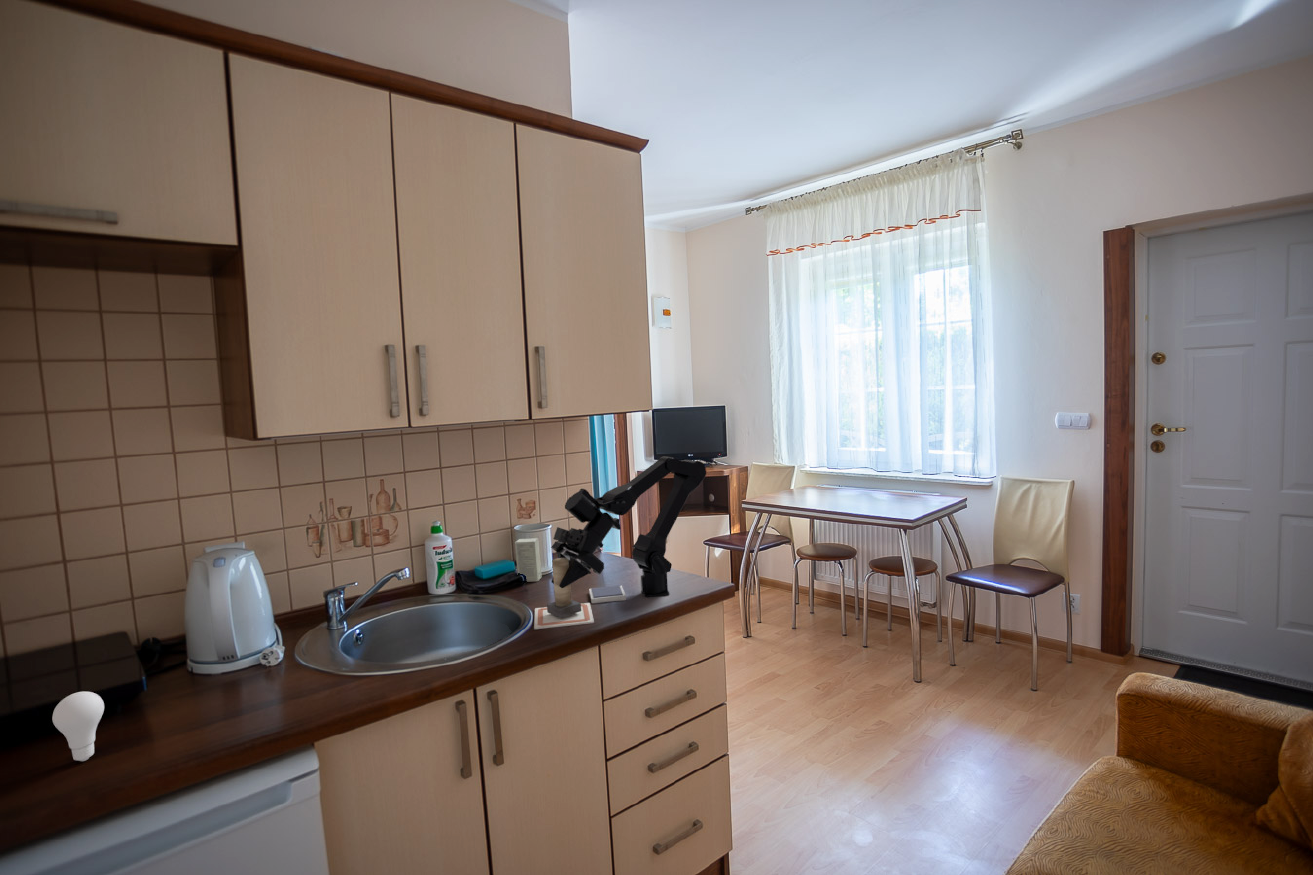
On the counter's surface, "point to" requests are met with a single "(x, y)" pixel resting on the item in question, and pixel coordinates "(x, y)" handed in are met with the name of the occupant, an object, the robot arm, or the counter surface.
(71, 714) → the lightbulb
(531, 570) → the skincare box
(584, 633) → the counter surface
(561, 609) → the stamp
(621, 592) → the ink pad
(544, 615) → the board
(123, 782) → the counter surface
